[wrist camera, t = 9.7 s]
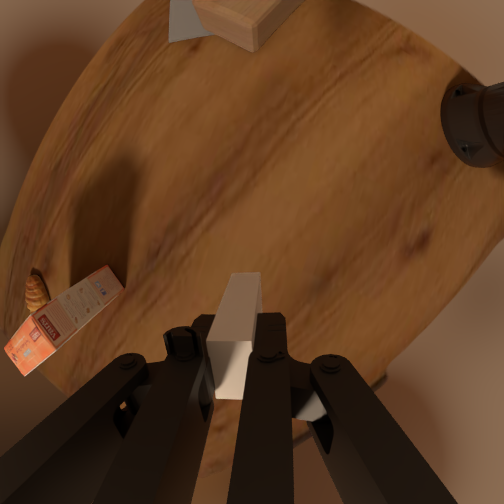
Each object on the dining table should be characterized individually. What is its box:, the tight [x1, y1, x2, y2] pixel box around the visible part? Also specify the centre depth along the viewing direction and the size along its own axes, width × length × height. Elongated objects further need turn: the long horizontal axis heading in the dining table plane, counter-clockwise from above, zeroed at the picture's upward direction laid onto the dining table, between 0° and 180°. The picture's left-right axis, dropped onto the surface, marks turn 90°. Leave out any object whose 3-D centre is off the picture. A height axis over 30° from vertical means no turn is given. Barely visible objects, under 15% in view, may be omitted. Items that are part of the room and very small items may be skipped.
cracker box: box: [4, 265, 124, 376], centre depth 38 cm, size 14×6×21 cm, turn 124°
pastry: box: [25, 275, 50, 314], centre depth 48 cm, size 9×7×4 cm
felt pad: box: [169, 0, 216, 43], centre depth 34 cm, size 12×10×1 cm
